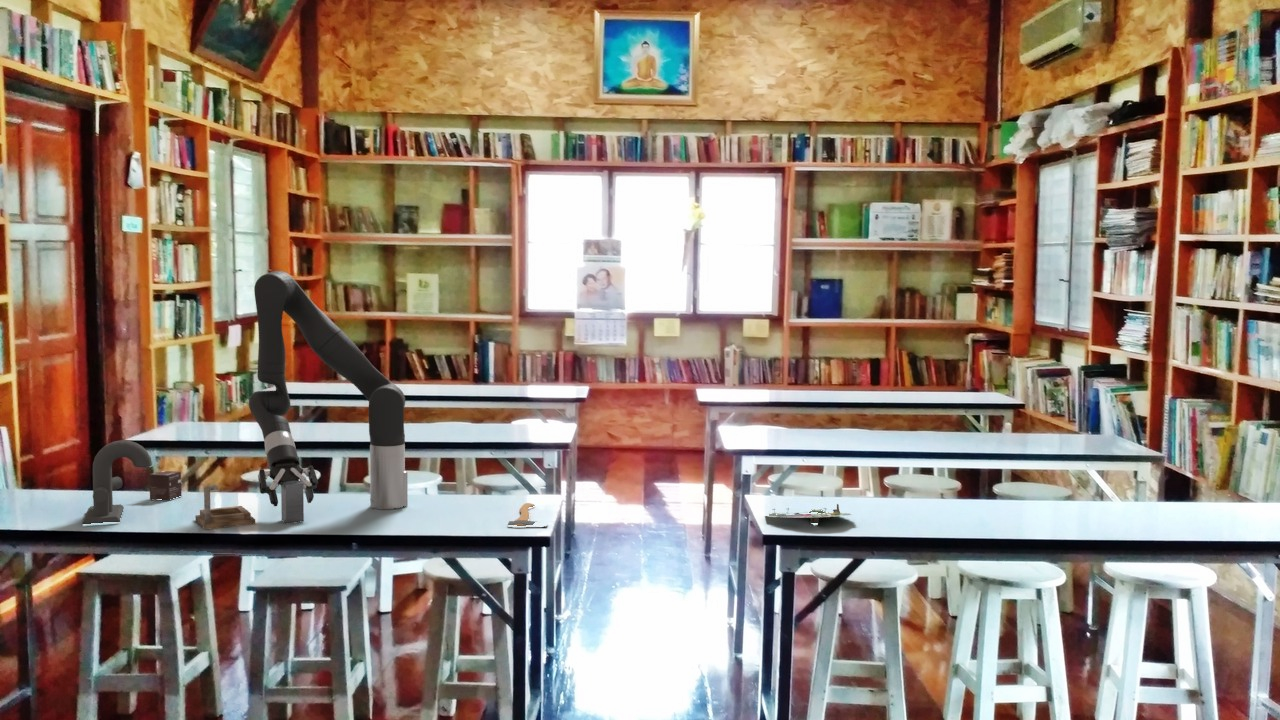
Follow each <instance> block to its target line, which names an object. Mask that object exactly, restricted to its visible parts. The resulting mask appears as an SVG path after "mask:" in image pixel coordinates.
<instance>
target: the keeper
mask: <svg viewBox="0 0 1280 720" xmlns="http://www.w3.org/2000/svg"><path fill="white" fill-rule="evenodd" d="M218 489H219V486H218V484H209V485H205V486H204V488H203V499H204V502H203V504H204V505H203V508H204V509H199V514H198V515H197V514H196V515H195V517H194V518H195V521H196V523H198V524H199V526H201V527H202V528H203V529H204V530H206V531H207V530H213V529H222V528H223V529H224V528H231V527H241V526H250V525H256V519H255V518H254V517H253V516H252V514H251V512H250V511H249V510H247V509H246V508H245V507H243V506H242V505H238V506H235V505H234V506H227V507H225V506H224V507H217V508H216V507H215V508H211V491H214V490H215V491H216V490H218Z"/></svg>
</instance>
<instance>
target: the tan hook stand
mask: <svg viewBox="0 0 1280 720" xmlns="http://www.w3.org/2000/svg"><path fill="white" fill-rule="evenodd" d="M533 506H535V504H533V503H530V502H526V503H524V504H523V505H521V507H520V508H519V512H520V511H521V515H520V516H519V517H518V518H517V519H515V520H514V521H513V520H511V521H508V523H507V526H508V525H517V526H526V525H533V524H534V523H535V522H536V521H531V520H530V521H528V519H529V514H530V511H529V512H528V508H529V507H533ZM535 507H536V506H535Z"/></svg>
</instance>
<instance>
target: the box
mask: <svg viewBox="0 0 1280 720" xmlns="http://www.w3.org/2000/svg"><path fill="white" fill-rule="evenodd" d="M181 473H182V471H175V470H174V471H172V470H170V471H169V470H163V471H157V472H156V471H155V472H154V473H153V472H152V473H150V474H149V500H150V499H162V500H161V501H163V500H170V499H173V498H176V497H179V496H181V497H182V496H183V495H182V474H181ZM179 498H180V497H179ZM173 500H174V499H173ZM170 501H171V500H170Z"/></svg>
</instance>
